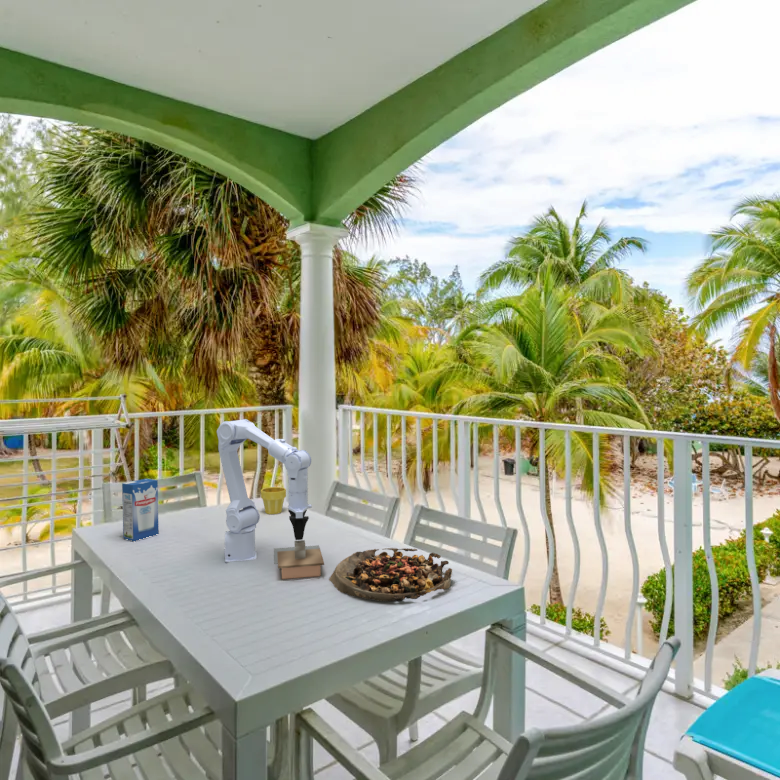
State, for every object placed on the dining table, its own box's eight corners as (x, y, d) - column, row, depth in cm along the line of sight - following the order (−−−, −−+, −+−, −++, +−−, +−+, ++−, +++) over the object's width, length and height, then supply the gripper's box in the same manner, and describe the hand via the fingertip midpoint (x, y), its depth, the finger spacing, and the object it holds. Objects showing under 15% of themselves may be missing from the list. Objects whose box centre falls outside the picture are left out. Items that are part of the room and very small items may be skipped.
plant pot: (290, 513, 232) (289, 490, 232) (266, 516, 227) (265, 493, 226) (280, 508, 241) (280, 485, 240) (257, 511, 235) (257, 488, 235)
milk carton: (133, 541, 194) (132, 485, 193) (123, 539, 198) (121, 483, 197) (158, 534, 203) (157, 480, 202) (148, 532, 206) (147, 478, 205)
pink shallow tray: (281, 580, 158) (281, 566, 158) (281, 567, 169) (280, 554, 169) (320, 577, 161) (320, 563, 161) (317, 564, 171) (317, 551, 171)
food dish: (469, 576, 165) (470, 550, 164) (417, 622, 136) (418, 591, 136) (369, 552, 183) (370, 529, 182) (305, 589, 154) (305, 561, 154)
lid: (278, 568, 157) (277, 550, 157) (277, 553, 170) (277, 537, 169) (324, 564, 160) (324, 547, 160) (320, 550, 172) (319, 534, 172)
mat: (274, 565, 171) (274, 563, 171) (273, 549, 185) (273, 548, 185) (323, 561, 174) (323, 560, 174) (318, 546, 188) (318, 545, 188)
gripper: (313, 496, 162) (313, 542, 162) (309, 485, 176) (310, 528, 176) (288, 497, 160) (288, 543, 161) (287, 486, 174) (287, 529, 175)
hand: (298, 535), depth 168 cm, fingers open, 7 cm apart
